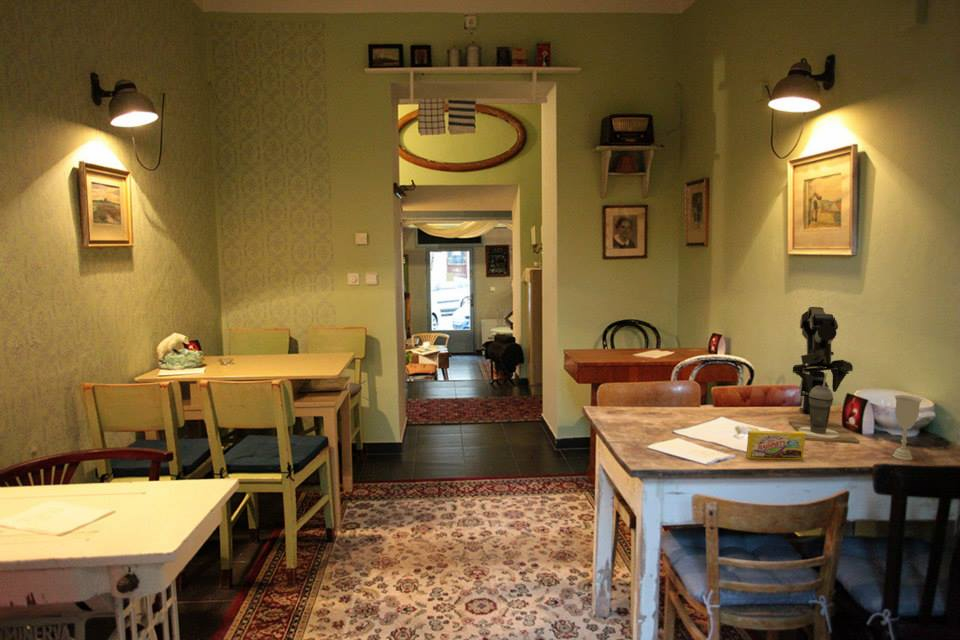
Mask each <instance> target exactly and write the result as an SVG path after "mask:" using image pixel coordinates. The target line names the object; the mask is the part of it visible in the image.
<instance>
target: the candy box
mask: <svg viewBox="0 0 960 640" xmlns="http://www.w3.org/2000/svg"><path fill="white" fill-rule="evenodd" d="M747 433H748V434H747V445H746V453H745V457H746V458H747V459H748V460H750V459H751V460H752V459H753V460H804V453H805V442H806V440H805V433H804V432H803V431H796V430H793V431H791V430H790V431H789V430H788V431H787V430H748V432H747Z"/></svg>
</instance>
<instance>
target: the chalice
mask: <svg viewBox="0 0 960 640" xmlns="http://www.w3.org/2000/svg"><path fill="white" fill-rule="evenodd" d="M894 398H895V401H896V402H895V411H894V414H895V417H896V420H897V422H898V425H899V427H900V428H901V429H902V430H903V432H902V434H901V436H902V438H901V440H900V442H901V446H900V447H898V448H896V449H895V451H894V453H892V457H893V456H894V458H896V459H900V460H905V461H909V460H910V461H911V460H913V456H912V454H911V451H910V450H909V449H907V447H906V444H907V443H908V440H907V438H908V436H909V435H908V430H909V429H912V427H913V425H914V424H915V423H916V421H917V419H918V418H919V415H920V405H921V402H922V401H923V399H922V398H920V397H918V396H914V395H907V394H906V395H905V394H898V395H895V396H894Z"/></svg>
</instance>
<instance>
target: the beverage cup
mask: <svg viewBox="0 0 960 640" xmlns="http://www.w3.org/2000/svg"><path fill="white" fill-rule="evenodd" d="M824 373H825V377H824V382H823V385H818V386H815V387H814V388H812V390H811V391H810V393H809V403H810V414H809V422H810V431H811V432H813V433H818V434H825V433H826V429H827V425H828V423H829V419H830V412H831V408H832V405H833V402H834V401H833V400H834V394H833V391H832V390H831V389H830V387H829V388H828V387H826V386H825V382H827V381H826V380H827V377H828V373H827V372H824Z"/></svg>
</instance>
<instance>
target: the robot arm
mask: <svg viewBox="0 0 960 640" xmlns="http://www.w3.org/2000/svg"><path fill="white" fill-rule="evenodd" d="M800 316H801V317H800V320H799V321H800V322H799V328H800V329H801V335H802V336H803V338H804V339H805V340H806V354H803V355H800V358H801V364H794V366H793V367H792V373H794V374H795V375H796V376H799V377H800V378H801V380H800V383H799V388H798V389H799V390H798V391H799V392H798V394H799V396H800V397H803V398H802V407H799V410H800V411H801V412H802V413H803V414H805V415H806V414H808V415H810V403H809V393H810V391H811V390H812V388H814V387H815V386H818V385H823V382H824V377H825V373H826V372H824V371H831V374H832V386H831V387H832V393H836V392H837V390H838V388H839V387H840V385H841V384H842V382H843V380H844V379H845V377H846V376H847V375H849V374H850V372H853V370H854V369H853V367H854V365H853V364H852V362H850V361H847V360H845V359H837V360H836V359H835V360H832V356H834V354H835V353H834V351H832V342H833V341H834V339H835V338H836V336H837V330H838V329H839V323H838V321H837V320H836V317H834V315H833V314H831V313H826V312H825V311H824V307H820V306H809V307H808V309H807V311H805V312H804V313H802V314H801V315H800ZM825 386H826V387H828V388H829V389H830V387H829V385H828V382H827V381H826V382H825Z"/></svg>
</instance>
